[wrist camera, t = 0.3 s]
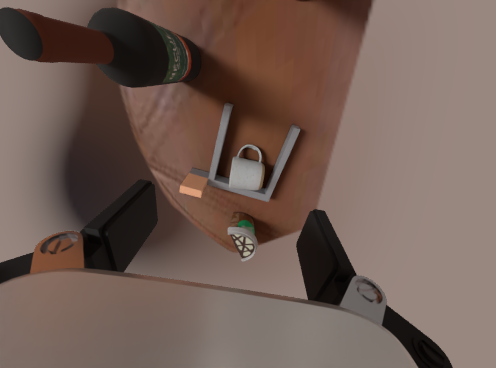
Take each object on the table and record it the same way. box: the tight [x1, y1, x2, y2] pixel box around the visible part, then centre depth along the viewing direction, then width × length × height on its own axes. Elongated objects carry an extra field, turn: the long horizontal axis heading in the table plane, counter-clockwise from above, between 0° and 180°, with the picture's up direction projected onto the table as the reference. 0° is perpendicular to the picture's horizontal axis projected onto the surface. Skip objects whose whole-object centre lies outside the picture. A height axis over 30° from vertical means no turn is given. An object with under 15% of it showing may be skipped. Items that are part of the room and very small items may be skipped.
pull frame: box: [180, 103, 301, 202], centre depth 43 cm, size 20×22×9 cm
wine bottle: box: [0, 7, 201, 88], centre depth 25 cm, size 8×8×30 cm
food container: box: [228, 212, 258, 261], centre depth 55 cm, size 12×6×10 cm, turn 18°
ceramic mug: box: [229, 145, 265, 190], centre depth 46 cm, size 11×8×8 cm
